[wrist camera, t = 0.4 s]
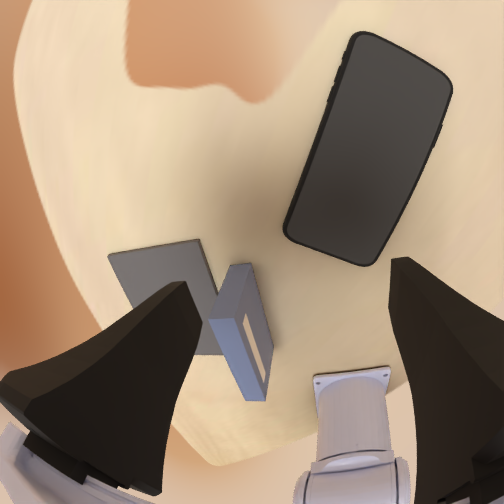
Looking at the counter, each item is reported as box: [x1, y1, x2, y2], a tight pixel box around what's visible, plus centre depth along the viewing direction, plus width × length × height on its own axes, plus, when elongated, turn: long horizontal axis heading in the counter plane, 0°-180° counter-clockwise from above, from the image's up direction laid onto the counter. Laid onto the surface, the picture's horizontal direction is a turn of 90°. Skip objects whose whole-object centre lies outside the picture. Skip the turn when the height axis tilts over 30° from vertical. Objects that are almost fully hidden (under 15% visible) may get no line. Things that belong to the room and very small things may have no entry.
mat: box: [107, 239, 223, 355], centre depth 24 cm, size 12×9×1 cm
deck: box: [208, 263, 274, 401], centre depth 20 cm, size 9×2×6 cm, turn 13°
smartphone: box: [283, 31, 453, 267], centre depth 15 cm, size 7×1×15 cm
